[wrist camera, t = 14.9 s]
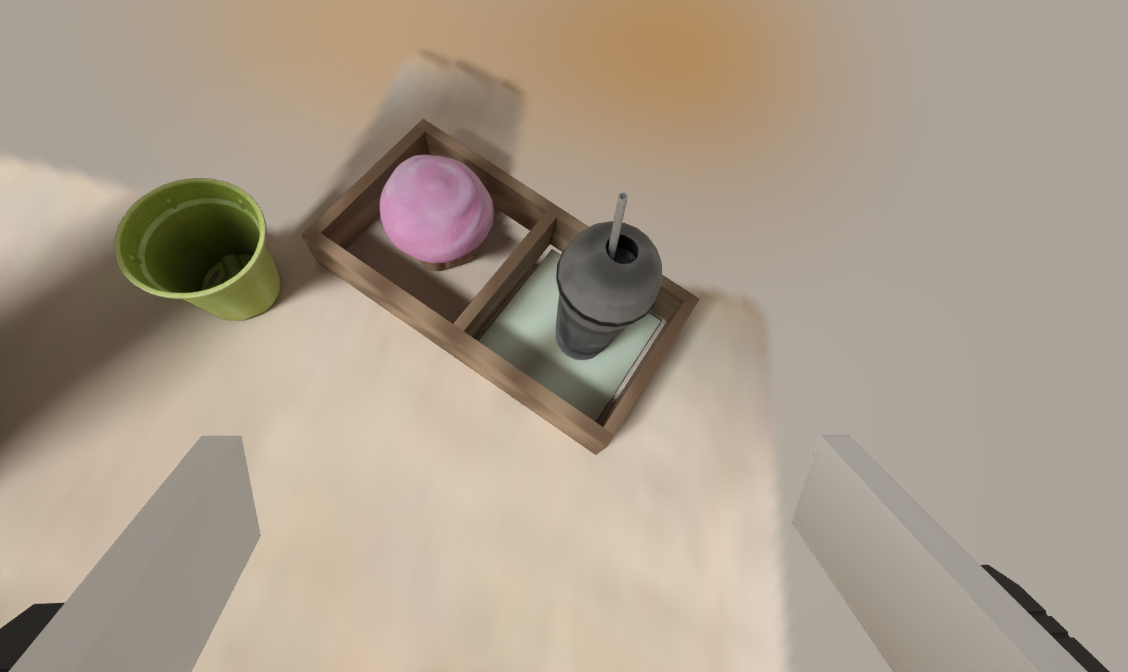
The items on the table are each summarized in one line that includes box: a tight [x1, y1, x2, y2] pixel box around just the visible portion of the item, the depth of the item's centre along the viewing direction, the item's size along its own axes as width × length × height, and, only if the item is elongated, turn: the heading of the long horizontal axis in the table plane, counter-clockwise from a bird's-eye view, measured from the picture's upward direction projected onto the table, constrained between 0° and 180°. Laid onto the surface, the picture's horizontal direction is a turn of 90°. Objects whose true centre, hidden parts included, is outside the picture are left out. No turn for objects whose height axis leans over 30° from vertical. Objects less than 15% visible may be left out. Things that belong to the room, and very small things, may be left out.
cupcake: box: [380, 155, 494, 271], centre depth 45 cm, size 9×9×10 cm
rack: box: [302, 119, 699, 455], centre depth 47 cm, size 29×15×4 cm, turn 57°
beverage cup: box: [555, 193, 662, 360], centre depth 39 cm, size 7×7×20 cm
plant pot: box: [114, 178, 281, 321], centre depth 42 cm, size 9×9×9 cm
